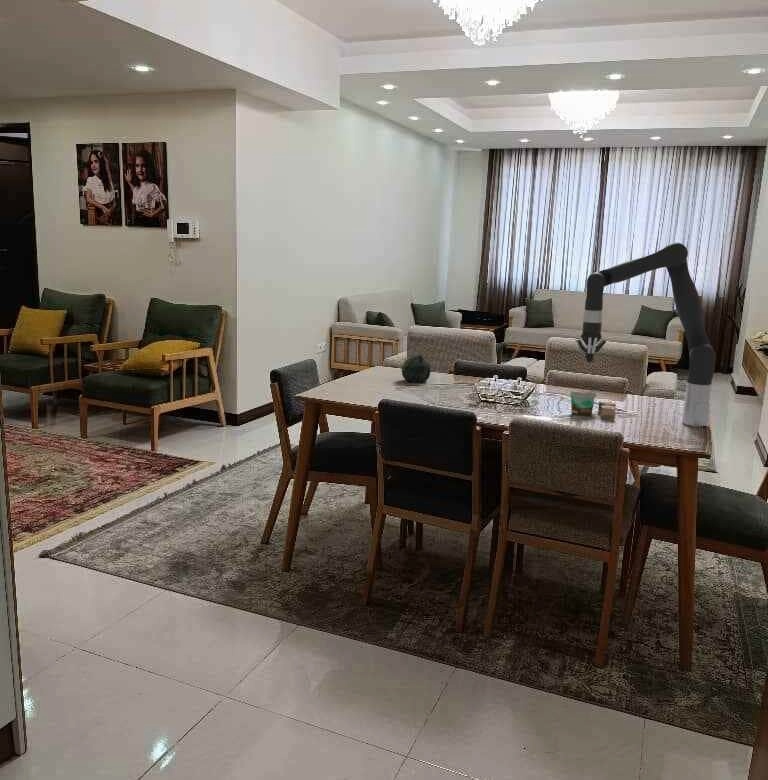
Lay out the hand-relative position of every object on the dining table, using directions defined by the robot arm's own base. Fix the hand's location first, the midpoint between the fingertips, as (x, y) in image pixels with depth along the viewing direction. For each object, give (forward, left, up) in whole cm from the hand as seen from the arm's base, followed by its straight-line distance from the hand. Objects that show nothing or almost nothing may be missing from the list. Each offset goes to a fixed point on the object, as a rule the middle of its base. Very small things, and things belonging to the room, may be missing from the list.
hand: (589, 361), depth 298 cm
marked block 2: (-7, -7, -23) cm, 25 cm away
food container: (0, 0, -23) cm, 23 cm away
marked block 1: (+1, -10, -23) cm, 25 cm away
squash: (+72, +63, -23) cm, 98 cm away
